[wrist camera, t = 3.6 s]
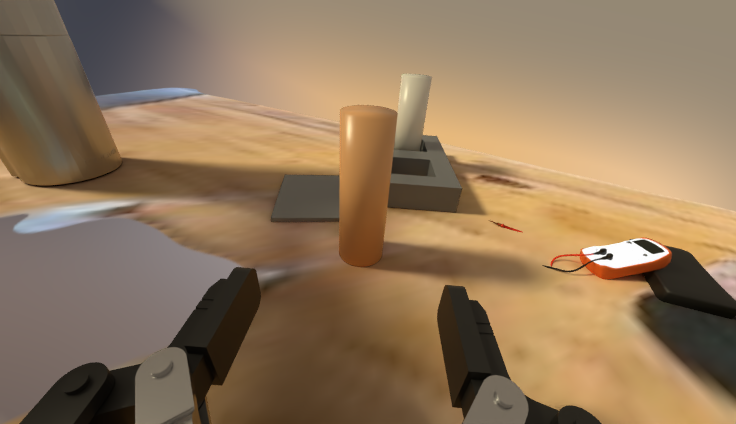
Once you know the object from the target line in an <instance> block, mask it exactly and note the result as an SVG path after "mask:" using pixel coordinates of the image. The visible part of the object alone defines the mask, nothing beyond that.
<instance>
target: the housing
mask: <svg viewBox="0 0 736 424" xmlns="http://www.w3.org/2000/svg"><path fill="white" fill-rule="evenodd" d="M431 79H432V77H430V76H427V75H420V74H402V78H401V87H400V97H399V105H398V116H397V125H396V134H395V143H394V152H393V161H392V170H391V179H390V188H389V197H388V206H387V207H394V208H407V209H419V210H432V211H445V212H456V210H457V206H458V202H459V198H460V194H461V191H462V187H461V185H460V183H459V181H458V179H457V177H456V175H455V173H454V171H453V169H452V167H451V164H450V162H449V160H448V158H447V156H446V154H445V152H444V150H443V148H442V146H441V144H440V142H439V140H438V138H437V136H426V135H422V134H423V128H424V122H425V115H426V110H427V103H428V97H429V90H430V84H431Z"/></svg>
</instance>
